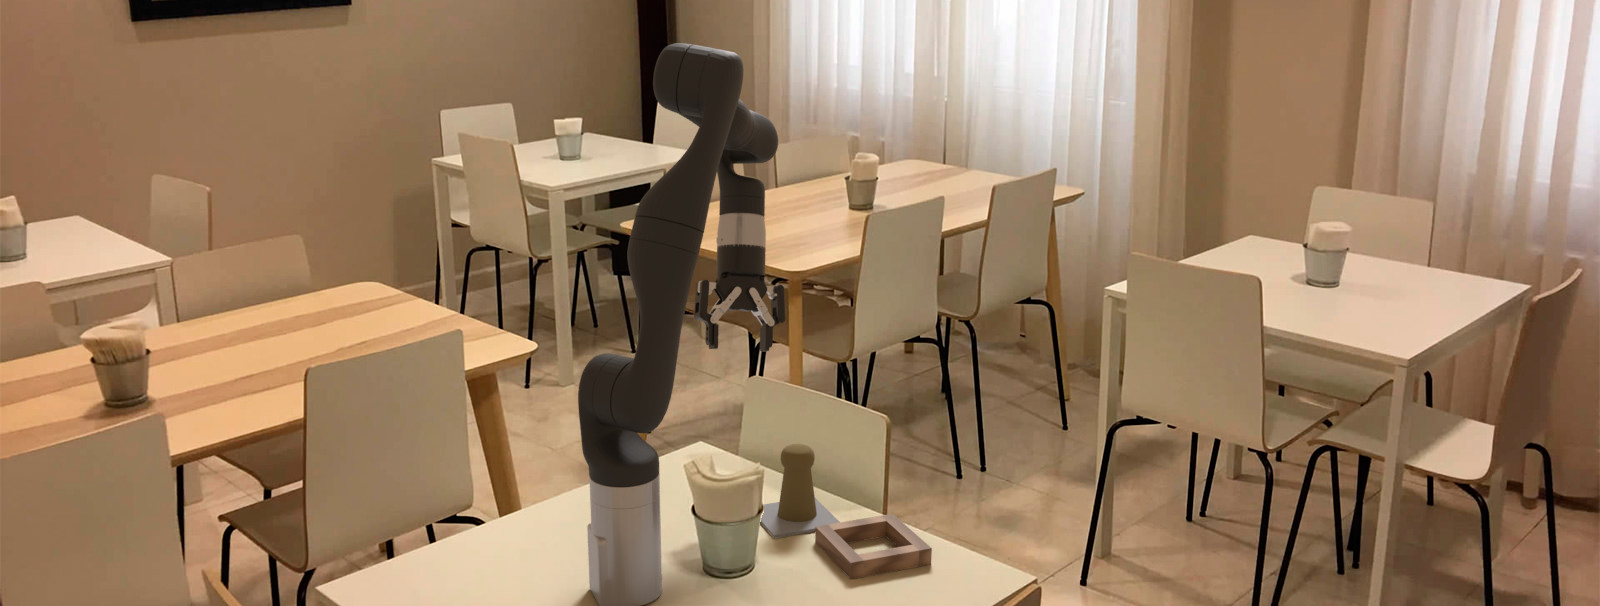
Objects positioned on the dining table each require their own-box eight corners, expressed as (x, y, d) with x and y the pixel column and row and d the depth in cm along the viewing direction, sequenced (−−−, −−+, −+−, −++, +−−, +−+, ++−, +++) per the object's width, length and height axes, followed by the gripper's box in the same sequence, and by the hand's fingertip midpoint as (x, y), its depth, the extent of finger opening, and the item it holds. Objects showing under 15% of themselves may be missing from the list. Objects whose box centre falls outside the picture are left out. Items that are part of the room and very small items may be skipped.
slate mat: (774, 538, 192) (774, 535, 192) (748, 509, 202) (748, 506, 202) (841, 526, 196) (841, 523, 196) (813, 499, 206) (813, 496, 206)
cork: (812, 523, 196) (813, 455, 193) (773, 519, 197) (773, 452, 194) (820, 507, 202) (820, 441, 199) (782, 504, 203) (782, 438, 200)
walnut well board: (850, 579, 180) (850, 562, 179) (815, 542, 191) (815, 526, 190) (931, 564, 184) (931, 548, 184) (892, 528, 196) (892, 513, 195)
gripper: (707, 239, 194) (704, 347, 193) (793, 246, 200) (791, 351, 199) (689, 245, 201) (687, 349, 199) (773, 251, 207) (771, 352, 205)
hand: (739, 350), depth 199 cm, fingers open, 8 cm apart
